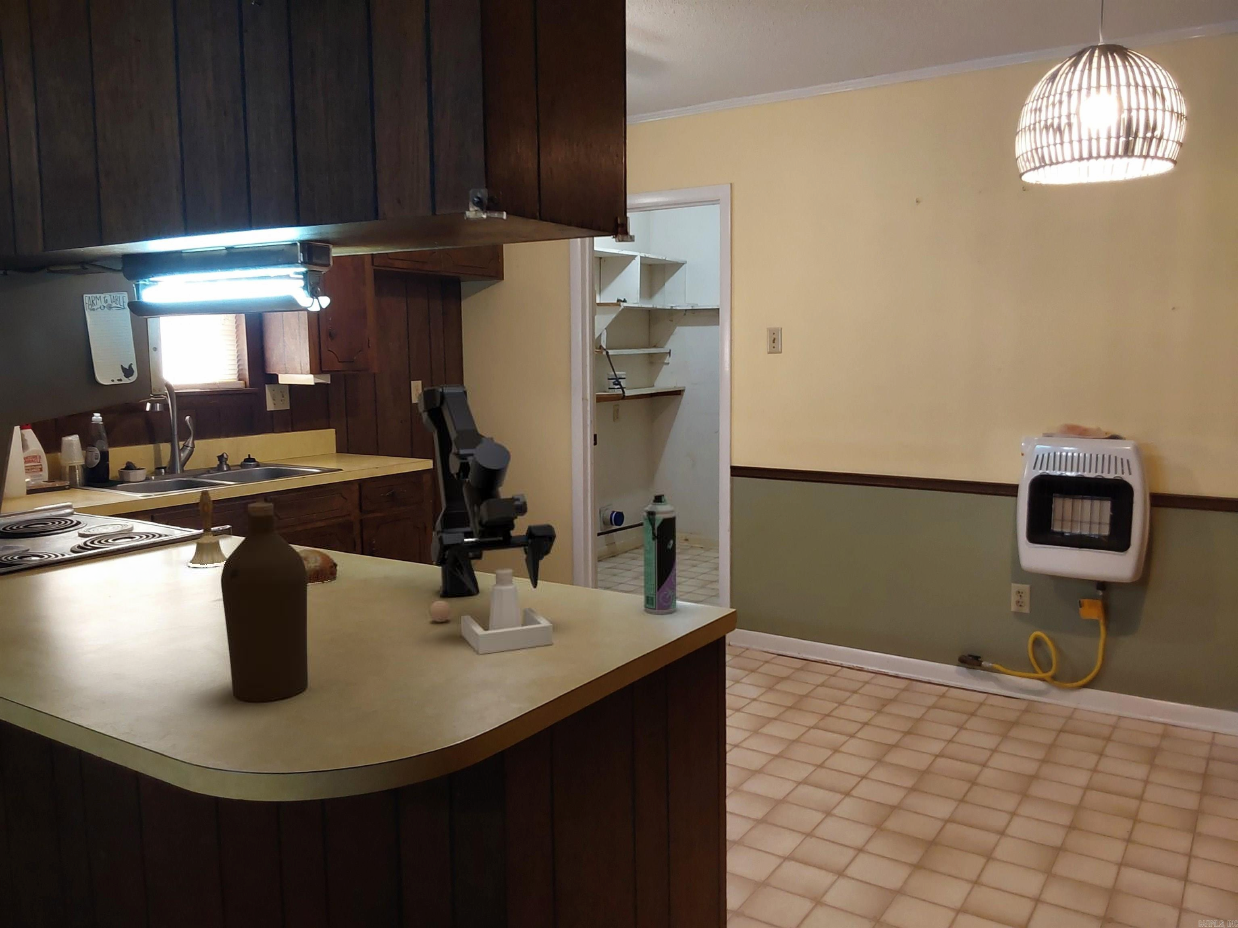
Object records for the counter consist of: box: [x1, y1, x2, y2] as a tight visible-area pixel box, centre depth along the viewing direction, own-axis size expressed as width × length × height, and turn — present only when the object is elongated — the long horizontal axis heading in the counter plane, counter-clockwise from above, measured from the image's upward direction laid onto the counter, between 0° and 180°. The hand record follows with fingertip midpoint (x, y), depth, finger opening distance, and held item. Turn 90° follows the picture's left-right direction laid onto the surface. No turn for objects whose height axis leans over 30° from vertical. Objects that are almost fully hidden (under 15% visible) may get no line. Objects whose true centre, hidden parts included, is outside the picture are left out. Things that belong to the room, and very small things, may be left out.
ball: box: [429, 600, 452, 623], centre depth 159 cm, size 4×4×4 cm
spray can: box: [642, 493, 677, 615], centre depth 163 cm, size 6×6×20 cm
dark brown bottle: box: [220, 501, 309, 703], centre depth 126 cm, size 11×11×25 cm
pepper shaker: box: [488, 567, 523, 631], centre depth 148 cm, size 5×5×11 cm
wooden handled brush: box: [189, 489, 228, 565], centre depth 204 cm, size 8×8×16 cm
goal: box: [460, 607, 554, 655], centre depth 149 cm, size 11×11×3 cm
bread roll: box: [297, 548, 339, 584], centre depth 190 cm, size 10×10×8 cm
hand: (507, 590), depth 147 cm, fingers open, 9 cm apart
